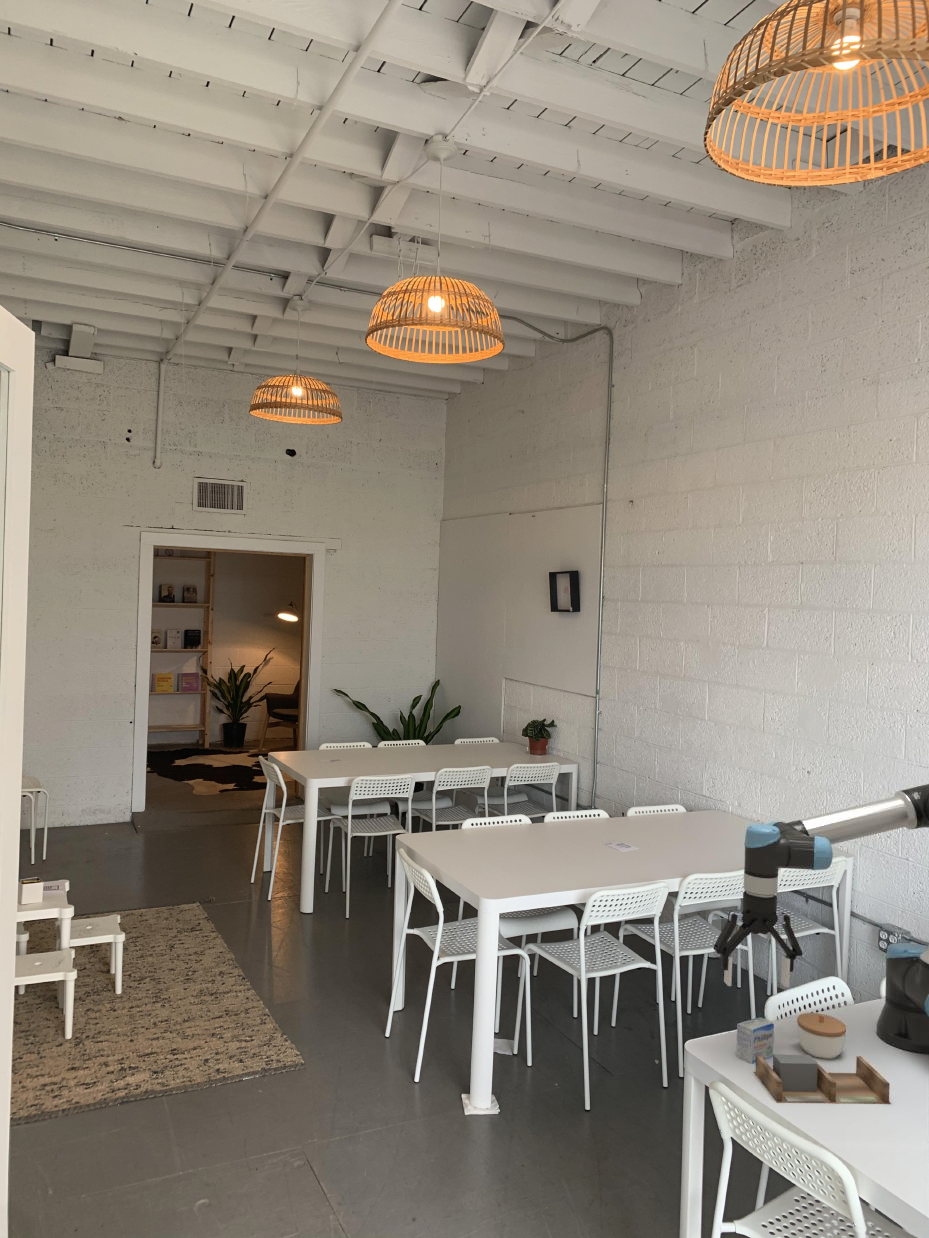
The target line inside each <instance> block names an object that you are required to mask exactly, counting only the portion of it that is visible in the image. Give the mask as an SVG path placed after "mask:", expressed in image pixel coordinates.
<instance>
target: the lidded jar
mask: <svg viewBox="0 0 929 1238" xmlns="http://www.w3.org/2000/svg"><path fill="white" fill-rule="evenodd" d="M796 1023H797V1027H796V1029H797V1030H796V1031H797V1038H798V1042H799V1044H800V1046H801V1048H802V1050H804V1051H805V1052H806V1053H807V1054H808V1055H810V1056H813V1057H816V1058H819V1059H825V1060H826V1059H828V1060H831V1059H835V1058H837V1057H838V1056H839V1055H840V1054H841V1053H842V1051H843V1049H844V1046H845V1042H846V1041H845V1040H846V1032H847V1026H846V1024H845V1023H844V1022H843V1021H841V1020H840V1019H838V1018H835V1017H833V1016H830V1015H827V1014H822V1013H816V1012H807V1013H801V1014H799V1015H798V1016H797V1017H796Z"/></svg>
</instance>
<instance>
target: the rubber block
mask: <svg viewBox="0 0 929 1238" xmlns="http://www.w3.org/2000/svg"><path fill="white" fill-rule="evenodd" d="M811 1056H812V1055H810V1054H786V1053H785V1054H781V1053H780V1054H777V1053H776V1054H774V1053H773V1057H772V1070H773V1071H774V1072H775V1073H776V1075H777V1076H778V1077H779V1078H780V1079H781V1081H782V1082H783V1086H782V1092H817V1063H818V1062H817V1061H816V1060H815V1058H814V1057H813V1058H814V1059H813V1058H812V1057H811ZM814 1060H815V1061H816V1062H817V1063H816V1062H815V1061H814Z"/></svg>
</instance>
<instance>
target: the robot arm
mask: <svg viewBox="0 0 929 1238" xmlns="http://www.w3.org/2000/svg"><path fill="white" fill-rule="evenodd" d="M901 828H906V829H908V830H910V831H911V830H912V831H913V830H915V829H917V830H918V829H920V828H921V829H923V828H927V829H928V828H929V783H926V784H921V785H917V786H915V787H914V786H913V787H910V788H906V789H901V790H898V791H896V792H894V795H893V796H891V797H888V798H883V799H879V800H875V801H872V802H868V803H864V804H858V805H855V806H851V807H846V808H843V809H840V810H835V811H832V812H831V811H830V812H825V813H823V814H818V815H815V816H809V817H806V818H803V819H798V820H793V821H789V822H785V821H784V822H783V821H778V820H775V821H771V822H769V823H768V824H764V823H752V824H750V825H748V826H747V828H746V830H745V837H744V867H743V869H744V870H743V887H742V888H743V889H744V891H743V892H742V911H741V913H738V912H734V911H733V910H730V911H728V916H727V921H726V922H725V925H724V926H723V928H722V930H721V931H720V934H719V936H718V937H717V939H716V941H715V943H714V945H713V950H714V951H715V952H716V953H717V954H718V955H720V968H721V969H722V970H723V971H724V972H723V973H724V974H723V975H724V976H723V982H724V983H725V984H726V985H727V987H732V977H733V957H732V953H733V952H734V950H735V949H736V948H738V946H739V945H740V944H741V942H743V941H744V939H746V937H749V936H750V934H753V935H759V934H762V935H767V934H768V933H769V934H770V935H771V937H772V938H773V939H774V941H776V943H777V944H778V946H779V947H780V948H781V950H782V951H783V952H784V953H785V954H782V955H781V975H780V977H781V978H780V979H781V981H780V983H781V984H782V985H783V986H784V987H785V988H790V979H791V978H790V977H791V976H790V975H791V974H790V973H793V972H794V966H795V965H794V963H795V960H796V959H797V957H802V956H803V951H802V948H801V946H800V944H799V941H798V939H797V937H796V935H795V932H794V931H793V928H792V925H791V916H790V915H788V914H787V913H785V912H781V913H780V914H777V909H778V908H777V906H778V896H777V894H778V887H779V885H778V884H779V883H778V881H779V879H778V878H779V869H795V870H812V871H821V870H827V869H829V868H831V865H832V863H833V857H834V855H833V854H834V853H833V847H832V845H836V844H839V843H843V842H848V841H851V840H856V839H860V838H864V837H868V836H873V835H878V834H881V833H886V832H889V831H894V830H898V829H901ZM740 920H741V922H742V923H741V925H740V926H739V927H738V929H737V931H736V932H735V933H734V934H733V932H734V930H735V929H736V926H737V924H738V923H739V922H740ZM777 922H779V923H780V924H781V927H782V928H783V930H784V933H785V935H786V938H787V939H788V942H789V945H790V947H791V948H790V947H789V946H788V944H787V943H786V942H785V940H784V938H782V936H781V935H780V934H779V932H778V931H777V930H776V928H775V925H776V924H777ZM732 934H733V935H732ZM731 935H732V936H731ZM884 993H885V997H884V999H885V1000H884V1004H883V1007H882V1009H881V1012H880V1015H879V1018H878V1020H877V1021H876V1035H877V1036H878V1038H880V1039H881V1040H882V1041H883V1042H885V1043H887V1044H888V1045H891V1046H893V1047H896V1048H898V1049H901V1050H903V1051H904V1050H905V1051H909V1052H913V1053H918V1054H919V1053H920V1054H929V945H924V944H919V943H911V942H910V943H909V942H906V943H905V942H895V943H891V944H889V945H888V947H887V949H886V956H885V991H884Z"/></svg>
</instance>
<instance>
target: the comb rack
mask: <svg viewBox="0 0 929 1238" xmlns="http://www.w3.org/2000/svg"><path fill="white" fill-rule="evenodd" d="M810 1056H811V1057H812V1056H813V1055H810ZM812 1058H813V1059H814V1061H815V1062H816V1063H817V1092H782V1086H783V1082H782V1081H781V1079H780V1078H779V1077H778V1076H777V1075H776V1073H775V1072H774V1071H773V1067H771V1066H770V1065H769V1064H768V1062H767V1061H766V1059H765V1060H764V1059H763V1057H762V1056H761V1055H756V1063H755V1069H754V1070H755V1071H753V1073H754V1075H755V1076H756V1077H757V1078H758V1080H759V1082H760V1083H761V1084H762V1086H763V1087H764V1088H765V1090H766V1091H767V1092H768V1093H769V1094H770V1096H771V1097H772V1098H773V1100H774V1101H775V1102H776V1103H777V1104H839V1105H840V1104H841V1105H843V1104H844V1105H846V1104H848V1105H849V1104H851V1105H853V1104H855V1105H892V1103H891V1102H890V1082H888V1080H887V1079H885V1077H883V1076H882V1074H880V1072H878V1071H877V1070H876V1069H875V1068H874V1067H873V1066H872V1065H871V1064H870V1063H869V1062H867V1061H866V1060H865V1059H864V1058H863V1056H861V1055H859V1056H858V1055H857V1056H856V1061H855V1062H856V1063H855V1064H856V1065H855V1066H856V1067H855V1072H827V1071H826V1070H825V1069H824V1068H823V1067H822V1066H821V1065H820V1064H819V1063H818V1061H816V1060H815V1058H814V1056H813V1057H812Z"/></svg>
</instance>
